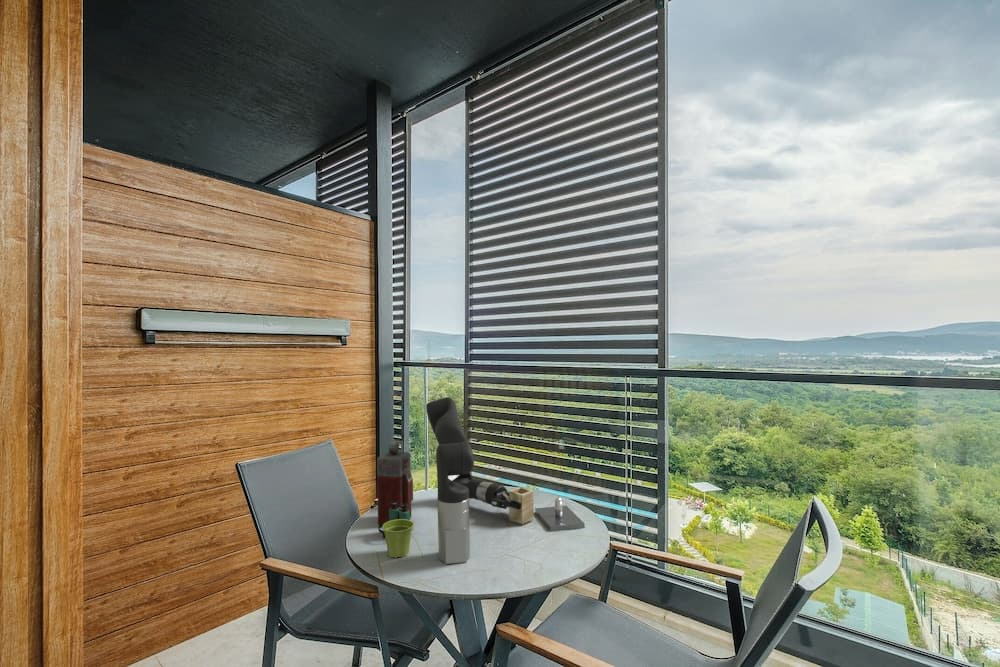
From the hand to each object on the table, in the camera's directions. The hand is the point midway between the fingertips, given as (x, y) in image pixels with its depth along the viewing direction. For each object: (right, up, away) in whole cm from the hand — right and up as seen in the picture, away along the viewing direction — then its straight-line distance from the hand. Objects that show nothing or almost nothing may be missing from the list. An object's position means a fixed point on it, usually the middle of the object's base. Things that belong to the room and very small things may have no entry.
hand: (526, 503), depth 172 cm
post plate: (+11, -6, +3) cm, 13 cm away
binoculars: (-43, -8, -10) cm, 45 cm away
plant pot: (-39, -7, -23) cm, 46 cm away
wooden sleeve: (-2, -6, +2) cm, 6 cm away
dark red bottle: (-45, -8, +4) cm, 46 cm away
